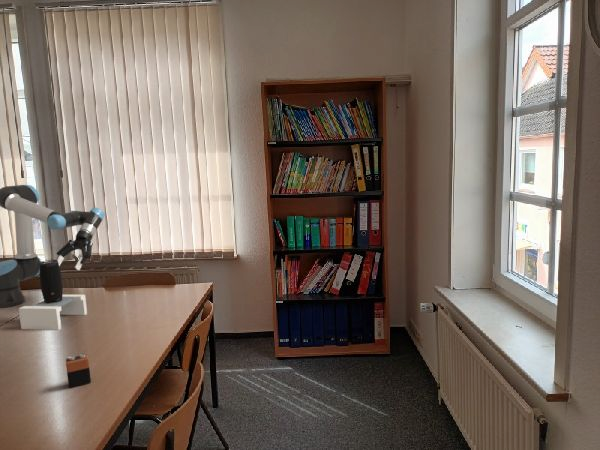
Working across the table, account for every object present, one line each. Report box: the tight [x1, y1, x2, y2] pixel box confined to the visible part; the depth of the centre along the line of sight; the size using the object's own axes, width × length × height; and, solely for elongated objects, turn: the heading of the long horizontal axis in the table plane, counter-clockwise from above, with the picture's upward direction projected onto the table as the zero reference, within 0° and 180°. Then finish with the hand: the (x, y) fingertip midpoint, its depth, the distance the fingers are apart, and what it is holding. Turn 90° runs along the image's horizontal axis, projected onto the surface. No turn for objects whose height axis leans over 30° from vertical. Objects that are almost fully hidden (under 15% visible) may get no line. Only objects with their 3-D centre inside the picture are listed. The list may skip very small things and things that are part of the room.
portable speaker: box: [38, 259, 64, 303], centre depth 222 cm, size 9×9×20 cm
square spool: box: [18, 293, 88, 331], centre depth 224 cm, size 22×19×10 cm
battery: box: [65, 353, 92, 389], centre depth 159 cm, size 4×7×10 cm, turn 120°
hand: (66, 268), depth 232 cm, fingers open, 13 cm apart
